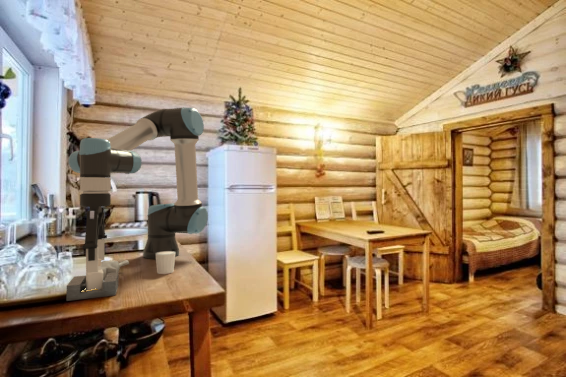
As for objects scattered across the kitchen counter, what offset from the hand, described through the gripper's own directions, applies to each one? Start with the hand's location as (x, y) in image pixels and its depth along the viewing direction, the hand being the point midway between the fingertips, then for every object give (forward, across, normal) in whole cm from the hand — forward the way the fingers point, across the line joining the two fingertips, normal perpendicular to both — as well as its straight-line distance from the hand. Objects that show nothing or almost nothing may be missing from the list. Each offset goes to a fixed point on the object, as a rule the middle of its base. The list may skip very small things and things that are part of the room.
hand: (95, 266), depth 89 cm
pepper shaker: (+8, 0, 0) cm, 8 cm away
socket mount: (+7, 0, 0) cm, 8 cm away
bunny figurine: (+8, -18, +1) cm, 19 cm away
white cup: (+8, -16, +20) cm, 26 cm away
